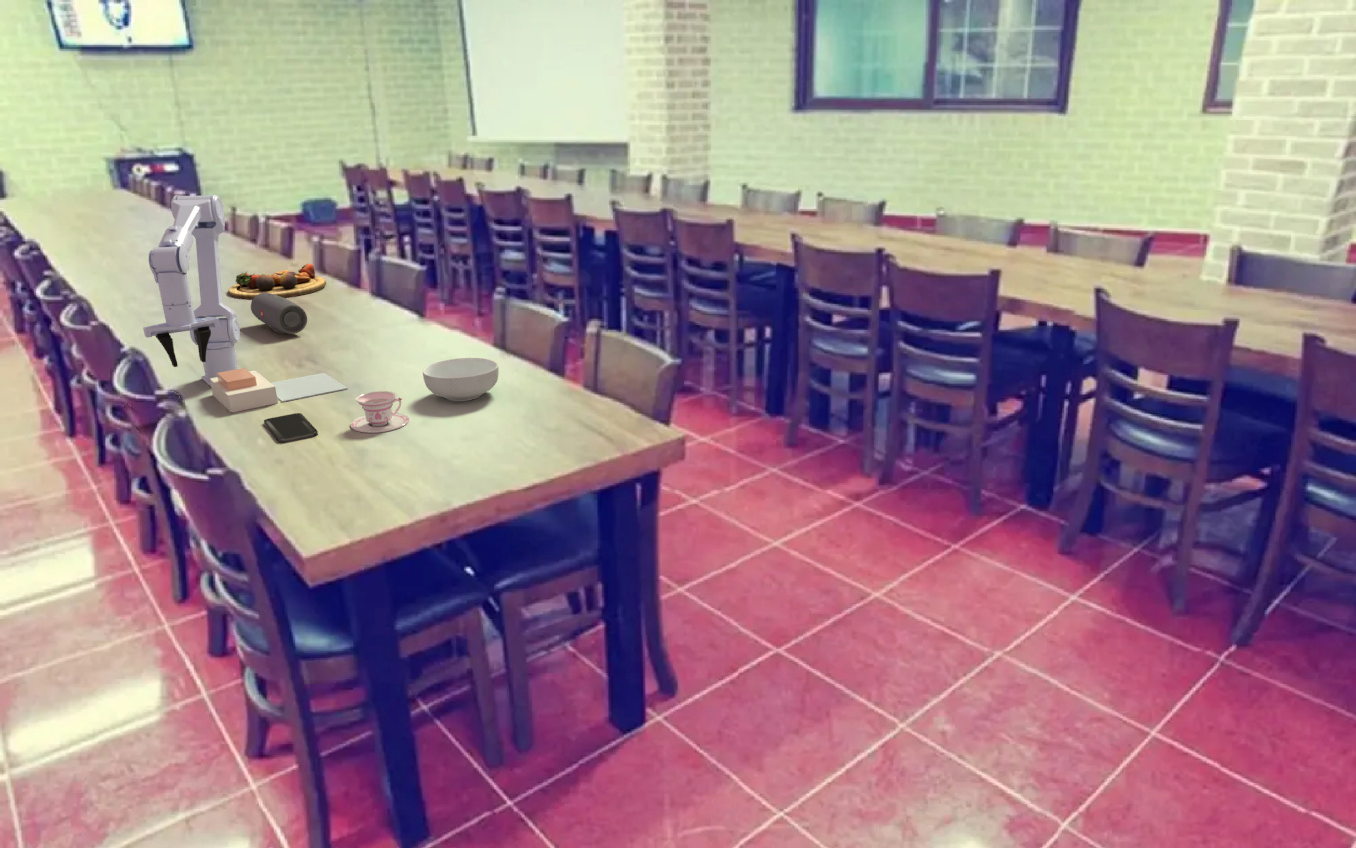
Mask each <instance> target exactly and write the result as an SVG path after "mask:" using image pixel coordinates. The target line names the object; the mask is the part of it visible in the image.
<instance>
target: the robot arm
mask: <svg viewBox="0 0 1356 848" xmlns="http://www.w3.org/2000/svg"><path fill="white" fill-rule="evenodd" d="M170 201H171V202H170V208H171V209H170V210H171V213H172V216H173V219H174V221H173V225H172V226H168V227H167V228H166V229H165V230H164V233H163V235H162V237H161V240H160V242H159V243H158V246H154V248H152V249H150V250H149V252H148V264H149V268H150V271H151V273H152V275H153V279H154V281H155V284H157V285H158V289H159V294H160V295H159V296H160V299H161V300H160V301H161V305H162V309H163V314H164V319H165V320H164V321H165V322H163V323H157V324H154V325H148V326H143V327H142V329H143V334H144V337H145V338H147V339H148V338H152V337H154V336H155V338H156V339H157V340H158V342H159V343H160V345H162V347H163V349H164V350H165V352H166V353H167V355H168V357H169V359H170V361H171V366H172V367H174V368H178V367H179V366H178V365H179V364H178V361H177V358H176V353H175V347H174V339H173V338H172V336H171V334H175V333H182V332H188V331H189V335H190V339H191V341H192V342H193V343H194V344H195V345H196V346H197V350H198V356H199V361H200V362H202V364H203V369H204V375H201V377H200V378H201V380H203V381H204V382H205V383H206V384H207V385H208V386H210V388H211V383H210V378H215V377H217V373H219V372H224V371H230V370H236V369H240V368H239V363H238V357H237V352H236V347H235V344H237V343H238V341H239V340H240V336H241V329H240V325H239V321H238V314H237V313H236V312H235V311H234V309H232V308H230V307H228V306H227V305H226V304H224V300H223V299H224V298H223V285H222V272H221V261H220V248H219V235H220V234H222V233H223V232H225V230H226V229H225V227H226V221H225V210H224V205H223V201H222V200H221V198H220V197H219V196H218V195H217V194H212V195H211V194H210V195H174V196H173V197H172V199H171V200H170ZM194 239H195V248H196V249H195V250H196V261H197V272H198V283H199V284H198V285H199V286H198V287H199V297H200V305H199V306H198V307H197V308H196V309H194V304H193V300H192V294H191V289H190V288H191V287H190V285H189V284H190V283H189V278H188V272H189V270H190V258H191V257H190V251H191V248H192V246H193V244H194Z"/></svg>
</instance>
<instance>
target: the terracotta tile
mask: <svg viewBox="0 0 1356 848" xmlns="http://www.w3.org/2000/svg"><path fill="white" fill-rule="evenodd" d="M217 377H218V381H219V382H220V383H221V384H222V385H223V386H224V387H225V388H226V389H227V390H229V391H230V390H235V389H240V388H246V387H251V386H256V385H257V383H256V377H255V376H254V375H252V374H251V373H250V372H249V371H248V370H247V369H246V367H245V368H244V367H243V368H239V369H236V370H230V371H224V372H219V373H217Z"/></svg>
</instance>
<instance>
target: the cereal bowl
mask: <svg viewBox="0 0 1356 848" xmlns="http://www.w3.org/2000/svg"><path fill="white" fill-rule="evenodd" d="M422 377H423V381H424V384H425V386H426V388H427V389H428V390H429V392H431V393H432V394H434V395H435V396H438V397H442V398H444V399H445V398H446V399H447V400H448V401H452V402H468V401H472V399H473V400H476V399H478V398H480V397H481V396H482V395H483V394H485V393H487V392H489V391H490V390H491V389H492V388H494V387H495V385H496V384H497V382H498V380H499V365H498V362H496V361H494V360H492V359H488V358H482V357H461V358H460V357H459V358H451V359H450V358H449V359H444V360H440V361H436V362H434V363H430V364H429V365H426V366H425V367H424V369H422ZM475 398H476V399H475Z"/></svg>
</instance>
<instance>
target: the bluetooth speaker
mask: <svg viewBox="0 0 1356 848" xmlns="http://www.w3.org/2000/svg"><path fill="white" fill-rule="evenodd" d="M250 310H251V314H253V316H254V317H255V318H256V319H257V320H259V321H260V322H262V323H263V324H265V325H267V326H269V327H270V328H271V330H273V331H274V332H276V333H278V334H281V335H286V334H287V335H288V334H291V335H292V334H293V335H294V334H297V333H300V332H302V331H303V330H304V329H305V328H306V326H307V323H308V316H307V312H306V311H305V310H304V309H303V308H302V307H301V306H300V305H298V304H297V303H295V302H293V301H291V300H290V299H287V298H286V297H285V298H283V297H280V296H277V295H274V294H271V293H260V294H258V295H256V296H255V297H254V298H253V299H251V302H250Z"/></svg>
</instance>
